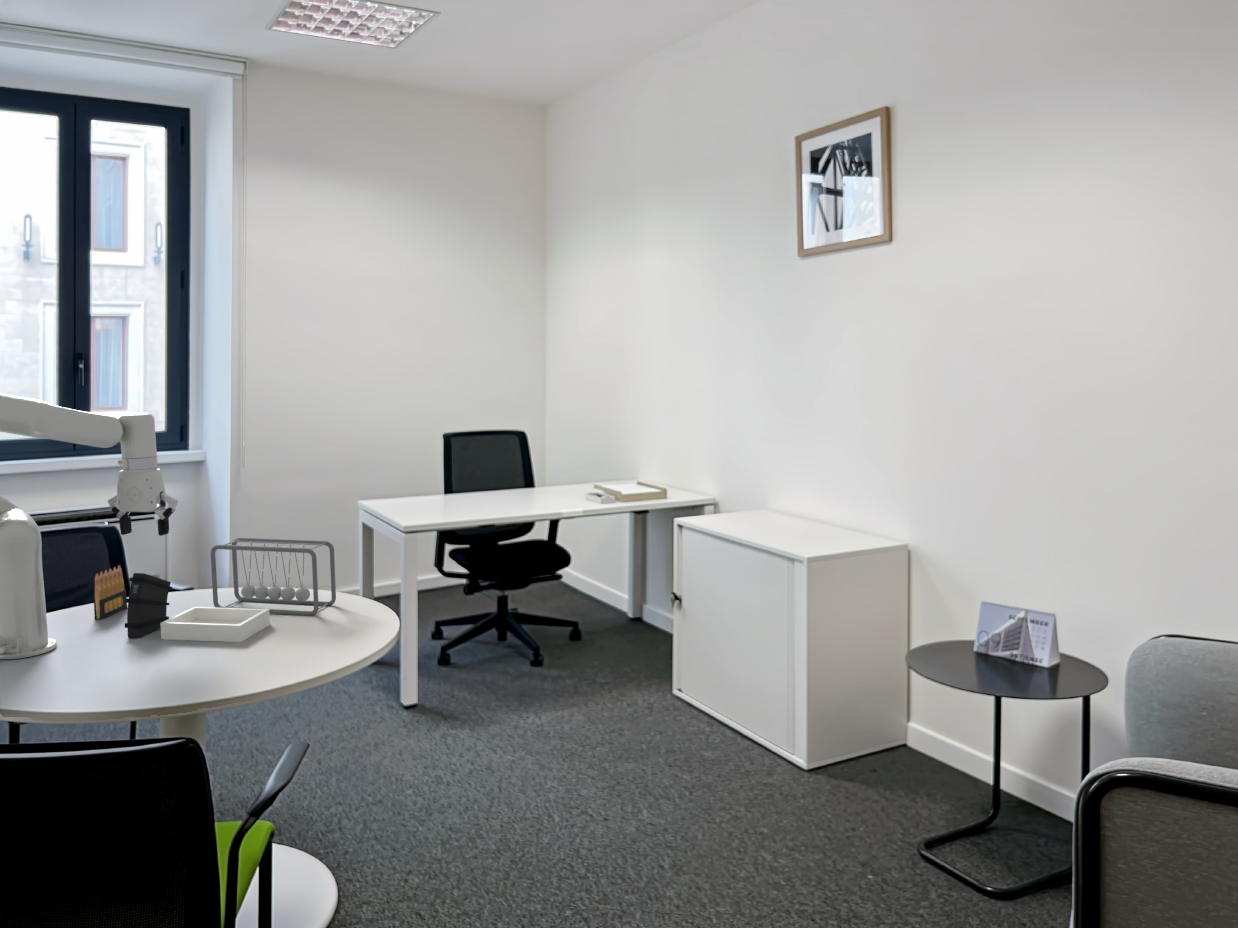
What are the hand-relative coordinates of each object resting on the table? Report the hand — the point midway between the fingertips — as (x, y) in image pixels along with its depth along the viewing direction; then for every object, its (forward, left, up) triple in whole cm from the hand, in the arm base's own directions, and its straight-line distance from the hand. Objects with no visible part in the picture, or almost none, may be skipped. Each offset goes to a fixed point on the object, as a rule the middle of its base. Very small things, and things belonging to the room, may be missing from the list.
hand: (145, 534), depth 221 cm
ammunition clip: (+12, +19, -24) cm, 33 cm away
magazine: (0, 0, -24) cm, 24 cm away
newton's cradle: (+22, -21, -24) cm, 39 cm away
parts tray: (0, -17, -24) cm, 29 cm away
